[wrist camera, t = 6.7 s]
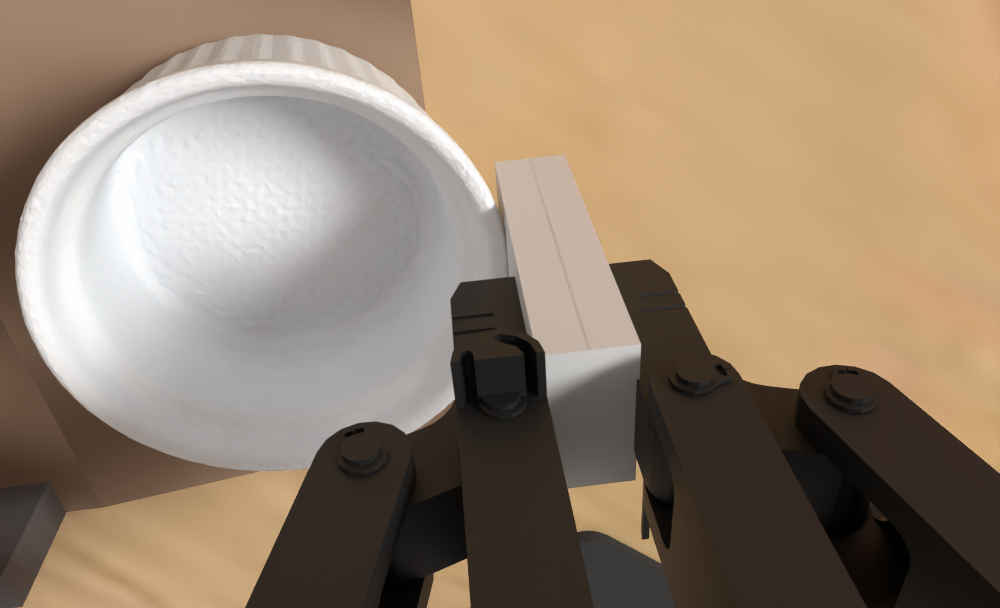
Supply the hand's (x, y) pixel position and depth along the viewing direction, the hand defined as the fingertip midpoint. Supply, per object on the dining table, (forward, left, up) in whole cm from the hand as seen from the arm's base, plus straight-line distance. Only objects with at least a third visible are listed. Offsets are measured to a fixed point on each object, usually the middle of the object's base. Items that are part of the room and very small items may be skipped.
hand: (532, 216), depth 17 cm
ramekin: (0, +6, -2) cm, 6 cm away
